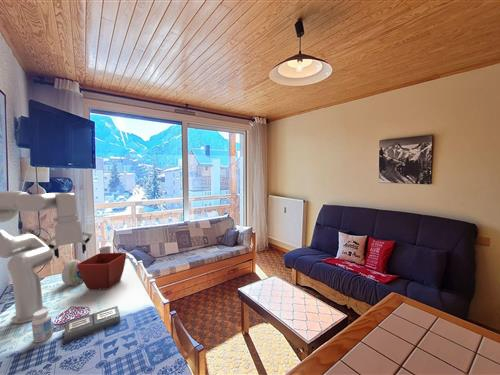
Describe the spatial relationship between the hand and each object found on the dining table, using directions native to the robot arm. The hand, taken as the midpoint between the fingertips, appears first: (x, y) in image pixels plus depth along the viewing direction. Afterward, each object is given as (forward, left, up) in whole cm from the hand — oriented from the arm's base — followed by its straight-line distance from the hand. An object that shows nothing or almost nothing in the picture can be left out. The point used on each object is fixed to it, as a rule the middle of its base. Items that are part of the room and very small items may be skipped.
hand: (71, 254), depth 109 cm
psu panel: (+15, 0, -30) cm, 34 cm away
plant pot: (-21, +25, -31) cm, 45 cm away
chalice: (-37, +35, -31) cm, 59 cm away
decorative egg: (-42, +18, -31) cm, 55 cm away
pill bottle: (+4, -14, -31) cm, 34 cm away
